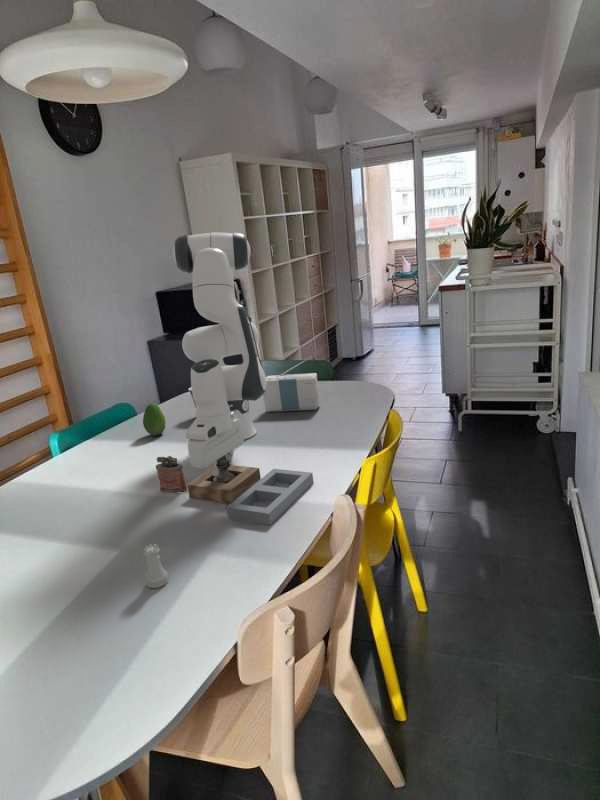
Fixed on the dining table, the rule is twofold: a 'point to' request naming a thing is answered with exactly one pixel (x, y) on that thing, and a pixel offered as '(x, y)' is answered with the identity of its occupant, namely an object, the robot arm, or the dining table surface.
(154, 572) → the rook chess piece
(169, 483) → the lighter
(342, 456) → the dining table surface
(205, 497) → the socket block
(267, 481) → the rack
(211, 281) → the robot arm
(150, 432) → the avocado
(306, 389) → the teal banded white box
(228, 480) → the grey chess piece
